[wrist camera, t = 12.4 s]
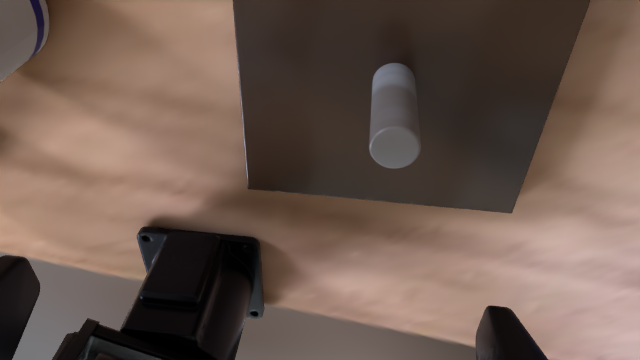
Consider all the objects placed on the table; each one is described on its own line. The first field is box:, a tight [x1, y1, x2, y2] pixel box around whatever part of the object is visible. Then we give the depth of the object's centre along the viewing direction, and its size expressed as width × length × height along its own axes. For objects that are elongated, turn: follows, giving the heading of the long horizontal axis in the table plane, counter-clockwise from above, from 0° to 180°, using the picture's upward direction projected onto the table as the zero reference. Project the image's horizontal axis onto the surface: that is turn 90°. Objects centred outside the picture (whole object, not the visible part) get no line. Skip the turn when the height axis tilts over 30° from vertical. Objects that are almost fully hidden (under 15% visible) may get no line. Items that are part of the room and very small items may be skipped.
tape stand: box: [233, 0, 590, 213], centre depth 17 cm, size 12×12×5 cm
